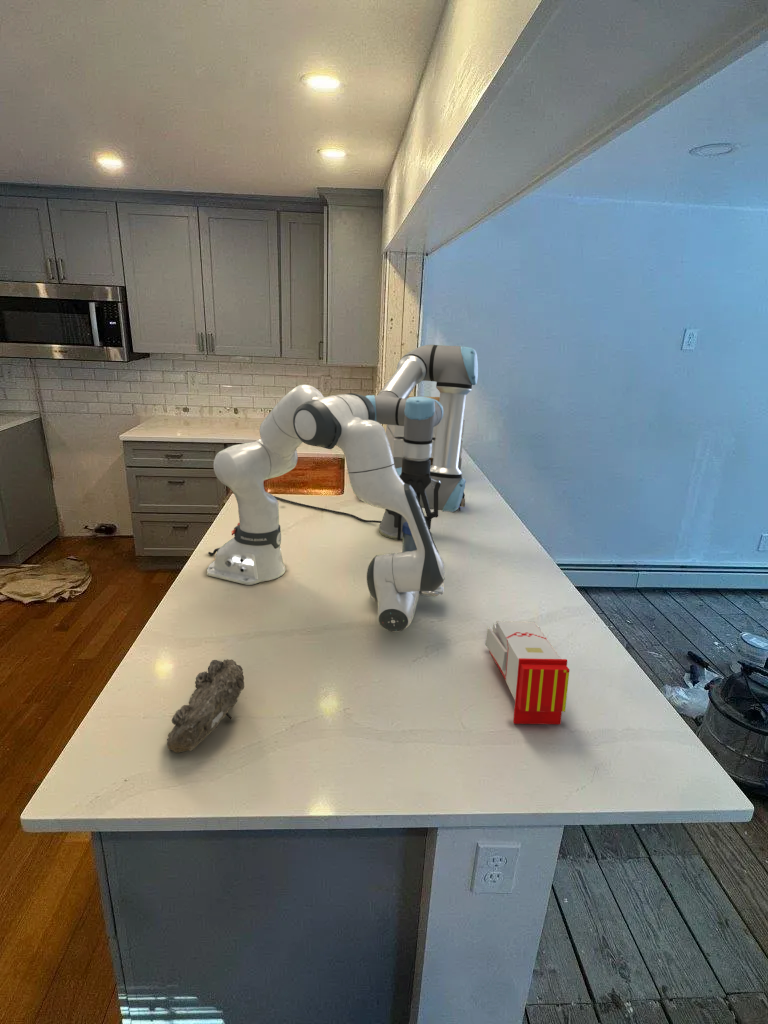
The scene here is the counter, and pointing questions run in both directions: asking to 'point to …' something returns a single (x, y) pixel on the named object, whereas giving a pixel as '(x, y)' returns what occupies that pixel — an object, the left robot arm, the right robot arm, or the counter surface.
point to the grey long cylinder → (408, 543)
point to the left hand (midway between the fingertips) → (409, 568)
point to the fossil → (206, 705)
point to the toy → (530, 671)
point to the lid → (406, 528)
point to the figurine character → (462, 502)
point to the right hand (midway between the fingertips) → (411, 539)
